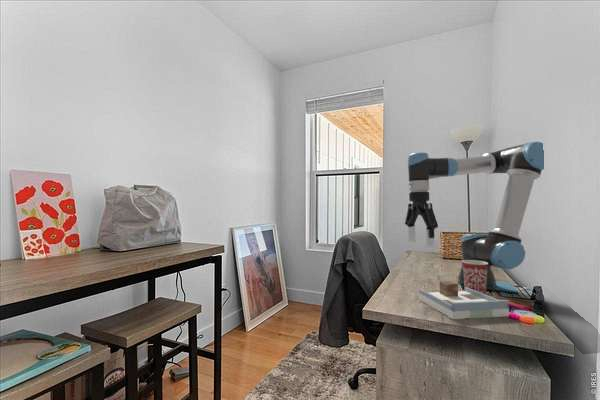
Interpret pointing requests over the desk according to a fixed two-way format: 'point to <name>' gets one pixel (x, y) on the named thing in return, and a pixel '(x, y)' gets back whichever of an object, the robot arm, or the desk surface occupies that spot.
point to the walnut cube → (448, 288)
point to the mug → (475, 275)
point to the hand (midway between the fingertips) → (420, 244)
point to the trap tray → (466, 304)
